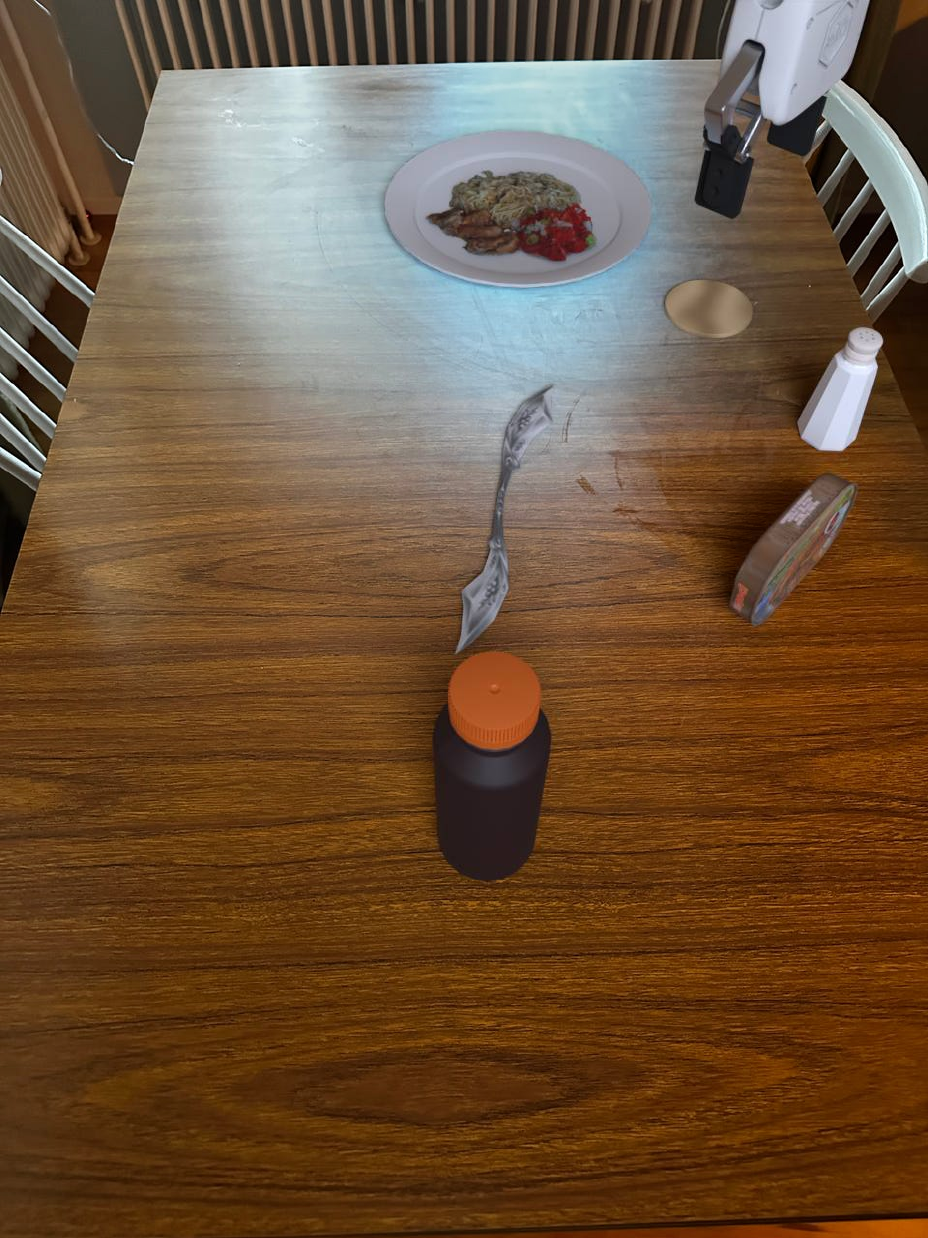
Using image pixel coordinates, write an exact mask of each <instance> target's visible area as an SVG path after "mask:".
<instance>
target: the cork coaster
mask: <svg viewBox="0 0 928 1238" xmlns="http://www.w3.org/2000/svg"><path fill="white" fill-rule="evenodd" d="M664 311H665V315H666V316H667V318H668V320H669V321H670V322H671V323H672V324H673V325H674V326H675V327H676V328H677V329H679V330H681V331H683V332H685V333H687V334H689V335H692V336H695V337H699V338H704V339H724V338H729V337H733V336H736V335H738V334H740V333H742V332H743V331H745V330H746V329H747V327H748V326H749V325H750V323H751V322H752V318H753V315H754V309H753V305H752V303H751V300H750V299H749V298H748V296H747V295H746V294H745V293H743V292H742V291H741V290H739V289H738V288H736V287H734V286H733V285H730V284H728V283H726V282H721V281H718V280H713V279H712V280H711V279H694V280H689V281H685V282H682V283H679V284H678V285H676V286H674V287H673V288H672V289H671V290H670V291H669V292H668V293H667V295H666V298H665V301H664Z"/></svg>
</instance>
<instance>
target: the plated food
mask: <svg viewBox="0 0 928 1238" xmlns="http://www.w3.org/2000/svg"><path fill="white" fill-rule="evenodd" d="M383 205H384V213H385V220H386V223H387V226H388V227H389V229H390V232H391V233H392V236H393V237H394V238H395V239H396V240H397V242H398V243H399V244H400V245H401V246H402V248H403V249H404V250H405V251H406V252H408V253H409V254H410V255H412V256H413V257H415V258H416V259H417V260H418V261H420V262H421V263H423V264H425V265H426V266H429V267H431V268H433V269H435V270H437V271H439V272H441V273H443V274H445V275H449V276H451V277H456V278H458V279H461V280H464V281H467V282H470V283H477V284H481V285H489V286H494V287H505V288H506V287H507V288H523V289H527V288H542V287H554V286H558V285H564V284H568V283H574V282H579V281H582V280H585V279H587V278H590V277H593V276H596V275H599V274H601V273H604V272H606V271H607V270H609V269H611V268H613V267H615V266H616V265H618V264H620V263H622V262H623V261H625V260H626V259H627V258H628V257H629V256H630V255H631V254H633V253H634V252H635V251H636V250H637V249H638V248H639V247H640V245H641V244H642V243H643V241H644V239H645V238H646V236H647V234H648V232H649V229H650V226H651V221H652V219H653V218H652V217H653V209H652V200H651V196H650V194H649V192H648V189H647V186H646V185H645V184H644V182H643V181H642V179H641V178H640V177H639V175H638V174H637V173H636V172H635V171H634V170H633V169H632V168H630V167H629V166H628V165H627V164H626V163H625V162H623V161H622V160H621V159H620V158H618V157H616V156H614V155H613V154H611V153H610V152H608V151H606V150H604V149H602V148H599V147H597V146H595V145H592V144H589V143H587V142H585V141H582V140H578V139H575V138H571V137H567V136H563V135H559V134H553V133H547V132H539V131H529V130H528V131H526V130H497V131H486V132H480V133H474V134H467V135H462V136H460V137H456V138H453V139H450V140H446V141H443V142H441V143H438V144H436V145H434V146H431V147H429V148H427V149H425V150H423V151H421V152H420V153H418V154H417V155H416V156H414V157H412V158H411V159H409V160H408V161H406V162H405V164H404V165H403V166H402V167H401V168H400V169H398V171H397V172H395V174H394V176H393V177H392V179H391V181H390V183H389V184H388V186H387V189H386V193H385V196H384V202H383Z"/></svg>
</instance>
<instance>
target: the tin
mask: <svg viewBox="0 0 928 1238" xmlns="http://www.w3.org/2000/svg"><path fill="white" fill-rule="evenodd" d="M858 492H859V485H858V484H857V482H851V481H849V480H848V479H845V478H843V477H841V476H839V475H837V474H835V473H832V472H824V473H821V474H820V475H818V476H817V477H816V478H814V480H812V481H811V482H810V483H809V484H808V485H807V487H806V488H804V490H802V492H801V493H800V494H799V495H798V496H797V497H796V498H795V499H794V500H793V501H792V502H791V503H790V504H789V505H788V507H786V508H785V510H784V511H783V512H782V513H781V514H780V515H779V516H778V517H777V518H776V519H775V520H774V521H773V522H772V523H771V525H769V526H768V527H767V529H766V530H765V531H764V532H763V533H762V534H761V536H760V537H759V538H758V539H757V541H756V542H755V543H754V545H753V546H752V548H751V549H749V551H748V553H747V555H746V556H745V558H744V560H743V562H742V564H741V565H740V567H739V569H738V571H737V574H736V576H735V578H734V583H733V588H732V590H731V594H730V597H729V601H728V604H727V606H728V609H730V611H732V612H733V613H735V614H736V615H738V616H740V617H741V618H743V619H744V620H746V621H747V622H748V621H749V622H750V624H751V625H752V626H754V627H757V626H760V625H761V624H763V623H764V622H765V621H767V619H768V618H770V617H771V616H772V615H773V614H774V612H776V610H777V609H778V608H779V606H781V605H782V603H783V602H784V601H785V600H786V599H787V598H788V597H789V595H790V594H791V593H792V592H793V591H794V590H795V588H796V587H797V586H798V585H799V584H800V583H801V582H802V581H803V579H805V578H806V576H807V575H808V574H809V573H810V572H811V571H812V569H813V568H815V566H816V565H817V564H818V563H819V561H820V560H821V559H822V558H823V557H824V555H825V554H826V552H827V551H828V550H829V548H830V547H831V545H832V544H833V543H834V541H835V540H836V538H837V536H838V534H839V533H840V531H841V529H842V528H843V526H844V524H845V522H846V520H847V518H848V516H849V514H850V512H851V511H852V509H853V506H854V503H855V501H856V499H857V495H858Z"/></svg>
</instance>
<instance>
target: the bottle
mask: <svg viewBox="0 0 928 1238" xmlns="http://www.w3.org/2000/svg"><path fill="white" fill-rule="evenodd" d="M541 701H542V685H541V681H540V678H538V674H536V671H535V670H534V668H532V666H531V665H530V664H529V663H527V661H526V660H525V661H524V659H523V658H522V659H521V657H520V656H517V655H515V654H513V653H511V654H510V653H509V652H506V651H504V652H503V651H501V650H500V651H498V650H495V651H494V650H492V651H490V650H488V651H484V652H479V653H478V652H477V653H476V654H473V656H472V655H470V656H469V657H466V659H463V662H460V664H458V665H457V667H455V670H453V673H451V676H450V679H449V683H448V687H447V702H445V704H444V705H443V706H442V708H441V710H440V712H439V713H438V715H437V717H436V719H434V726H433V732H432V738H431V739H432V740H431V741H432V761H433V775H434V776H433V778H434V795H435V798H434V799H435V814H436V815H435V816H436V833H437V841H438V844H439V850H440V851H441V854H442V855H443V857H444V859H445V861H446V862H447V864H449V865H450V866H451V867H452V868H453V869H454V870H455V871H456V872H457V873H459V874H461V876H462V875H463V876H465V877H467V878H469V879H471V880H475V881H481V882H494V881H500V880H504V879H507V877H509V876H511V875H513V874H515V873H517V872H519V870H520V869H521V868H523V866H524V865H525V864H526V863H527V862H528V861H529V859H530V858H531V855H532V852H533V850H534V849H535V845H536V837H537V833H538V826H539V819H540V815H541V809H542V803H543V796H544V791H545V785H546V778H547V773H548V768H549V760H550V755H551V748H552V737H553V736H552V731H551V727H550V724H549V723H550V722H549V720H548V716H546V714H545V712H544V711H543V709H542V708H541Z"/></svg>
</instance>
